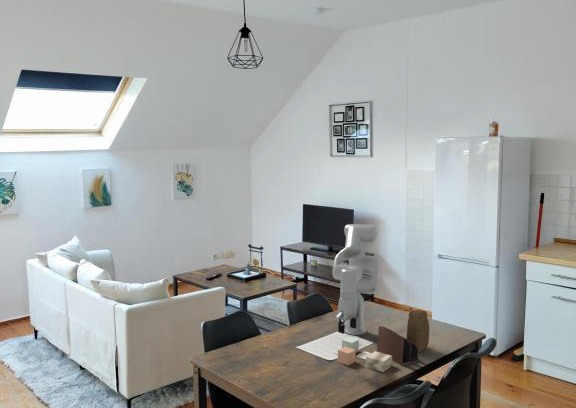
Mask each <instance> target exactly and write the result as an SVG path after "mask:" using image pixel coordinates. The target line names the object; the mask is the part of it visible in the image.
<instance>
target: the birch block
mask: <svg viewBox="0 0 576 408" xmlns="http://www.w3.org/2000/svg"><path fill="white" fill-rule="evenodd" d="M370 353H371V352H370ZM392 366H393V360H392V356H391V355H387V354H383V353H380V352H378V351H377V350H375V351H372V353H371V354H370V355H368V356H367V357H366V360H365V368H366V369H367V368H368V369H371V370H375V371H379V372H382V373H384V372H385V371H387V370H388V369H389V368H391V367H392Z"/></svg>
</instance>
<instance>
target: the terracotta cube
mask: <svg viewBox="0 0 576 408" xmlns="http://www.w3.org/2000/svg"><path fill="white" fill-rule="evenodd" d="M356 353H357V352H356V350H355V349H352V348H348V347H343V348H342V347H341V348H339V349H338V350H337V363H338V364H339V363H340V364H341V365H345V366H350V365H353V364H354V363H355V362H356V356H357V355H356Z"/></svg>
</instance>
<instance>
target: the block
mask: <svg viewBox="0 0 576 408" xmlns="http://www.w3.org/2000/svg"><path fill="white" fill-rule="evenodd" d="M406 328H407V329H406V339H408V340H409V341H411V342H412V343H414V344H415V345H416V346H417V347H418V353H422V352H424V351H425V350H427V348H428V345H429V341H430V323H429V319H428V312H427V311H425V310H424V309H423V310H422V309H414V310H411V311H409V312H408V319H407V326H406Z"/></svg>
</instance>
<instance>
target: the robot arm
mask: <svg viewBox="0 0 576 408" xmlns="http://www.w3.org/2000/svg"><path fill="white" fill-rule="evenodd" d="M343 230H344V235H345V244H344V245H345V246H344V248H343V249H341V250H340V251H339V252H338V253H337V254H336V256H335V257H334V260H333V265H332V277H333V278H334V279H335V280H338V281H340V287H339V288H340V291H339V292H340V293H339V296H340V297H339V299H338V304H337V305H338V306H337V315H336V317H335V318H336V323H337V327H338V328H337V329H338V330H337V332H338V333H339V334H343V335H344V334H347V335H351V336H361V335H364V334H366V333H367V329H366V328H365V327H364V319H365V318H364V315H365V299H364V297H363V296H362V295H361V294H370V295H371V294H376V293H377V292H378V288H379V260H378V257H376V256H375V255H366V246H365V243H375V241H376V239H377V238H378V229H377V226H376V225H374V224H362V223H359V224H358V223H350V224H349V223H348V224H346V225H345V226H344V229H343ZM347 260H348V264H344V261H347ZM342 263H343V264H342ZM363 274H369V275H363Z"/></svg>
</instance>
